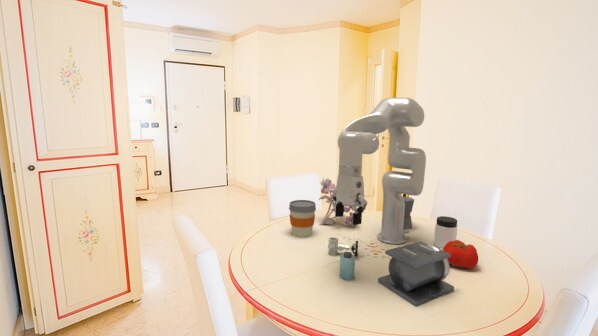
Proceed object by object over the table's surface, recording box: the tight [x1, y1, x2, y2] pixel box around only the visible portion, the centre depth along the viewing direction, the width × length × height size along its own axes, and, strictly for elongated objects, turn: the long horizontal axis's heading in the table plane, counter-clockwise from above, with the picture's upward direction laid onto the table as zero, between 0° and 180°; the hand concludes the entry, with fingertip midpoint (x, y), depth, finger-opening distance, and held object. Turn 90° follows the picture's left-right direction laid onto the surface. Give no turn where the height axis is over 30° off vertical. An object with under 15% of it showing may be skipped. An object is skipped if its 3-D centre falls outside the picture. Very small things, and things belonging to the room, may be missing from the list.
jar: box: [433, 215, 458, 249], centre depth 142 cm, size 9×8×12 cm
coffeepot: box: [402, 194, 415, 231], centre depth 164 cm, size 15×9×18 cm, turn 162°
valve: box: [327, 236, 359, 258], centre depth 131 cm, size 7×7×12 cm
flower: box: [318, 176, 358, 227], centre depth 165 cm, size 20×22×25 cm
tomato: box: [442, 239, 479, 269], centre depth 123 cm, size 13×12×8 cm
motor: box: [377, 240, 455, 307], centre depth 106 cm, size 18×16×13 cm
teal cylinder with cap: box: [339, 251, 356, 281], centre depth 112 cm, size 5×5×9 cm
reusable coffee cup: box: [288, 199, 317, 238], centre depth 152 cm, size 13×13×15 cm
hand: (347, 220), depth 110 cm, fingers open, 9 cm apart
